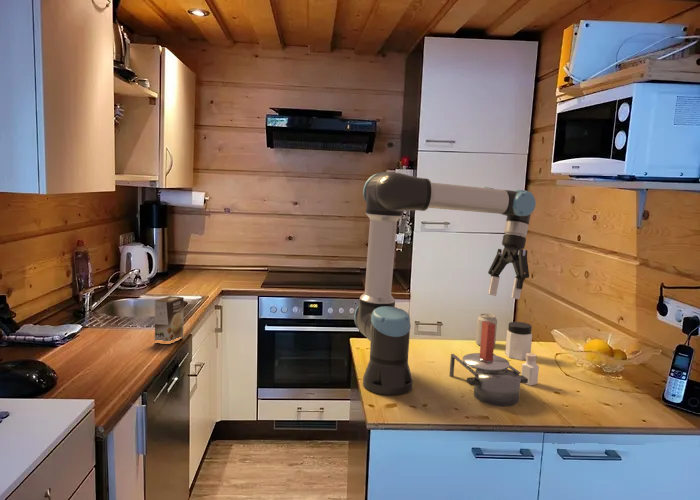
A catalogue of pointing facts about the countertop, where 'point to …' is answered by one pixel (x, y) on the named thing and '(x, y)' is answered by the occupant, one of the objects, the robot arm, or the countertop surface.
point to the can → (479, 325)
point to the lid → (486, 352)
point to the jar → (518, 340)
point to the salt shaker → (530, 369)
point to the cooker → (494, 384)
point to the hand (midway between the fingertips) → (503, 296)
